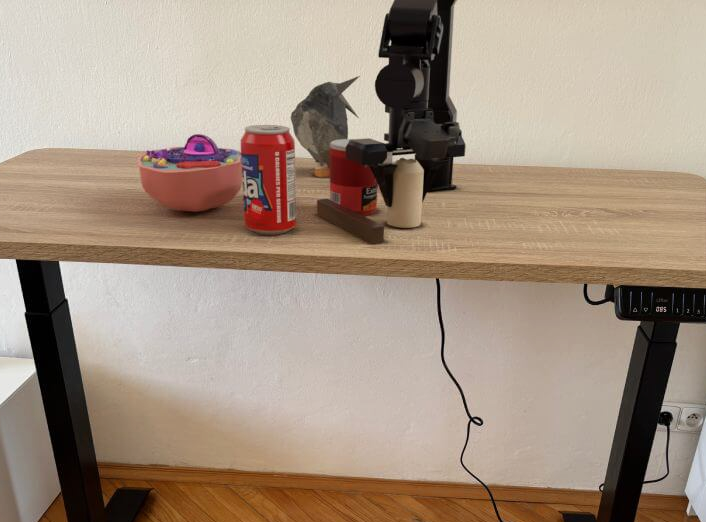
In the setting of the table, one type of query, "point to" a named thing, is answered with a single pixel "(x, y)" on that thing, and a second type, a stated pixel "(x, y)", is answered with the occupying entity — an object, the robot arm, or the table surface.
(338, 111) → the grey bird figurine
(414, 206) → the candle
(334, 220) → the walnut rail
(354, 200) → the canned food
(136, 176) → the table surface
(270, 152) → the soda can
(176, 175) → the cell model
